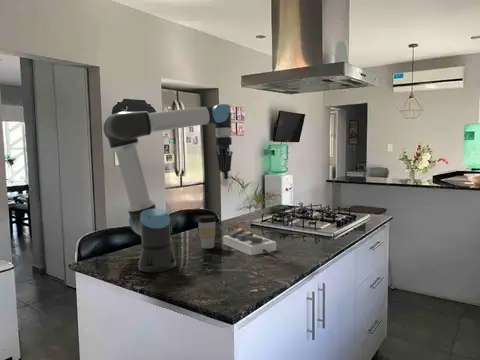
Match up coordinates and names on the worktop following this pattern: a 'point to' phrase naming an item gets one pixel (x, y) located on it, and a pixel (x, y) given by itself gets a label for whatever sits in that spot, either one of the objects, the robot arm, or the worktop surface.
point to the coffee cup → (207, 230)
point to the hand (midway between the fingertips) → (225, 185)
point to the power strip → (251, 245)
